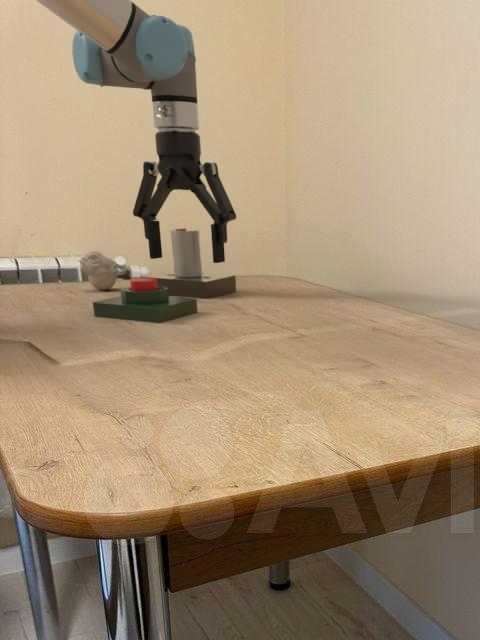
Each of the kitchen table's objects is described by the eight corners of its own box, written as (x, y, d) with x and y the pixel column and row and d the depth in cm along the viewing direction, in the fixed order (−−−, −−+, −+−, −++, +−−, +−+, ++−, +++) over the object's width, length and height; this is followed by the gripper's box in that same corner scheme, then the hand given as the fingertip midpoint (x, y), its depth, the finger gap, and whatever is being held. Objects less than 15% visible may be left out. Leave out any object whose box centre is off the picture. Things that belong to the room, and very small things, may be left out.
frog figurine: (78, 289, 133) (73, 250, 130) (115, 286, 137) (111, 249, 134) (88, 293, 129) (83, 253, 126) (126, 290, 133) (122, 252, 130)
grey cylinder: (185, 273, 134) (181, 226, 130) (207, 275, 132) (204, 228, 129) (169, 276, 129) (164, 228, 126) (191, 278, 128) (188, 229, 124)
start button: (125, 292, 108) (124, 280, 108) (142, 288, 112) (141, 277, 111) (147, 294, 107) (146, 282, 106) (163, 290, 110) (162, 279, 110)
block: (94, 316, 108) (90, 290, 107) (136, 306, 117) (133, 282, 115) (159, 323, 104) (156, 295, 103) (197, 312, 113) (195, 287, 111)
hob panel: (142, 293, 130) (140, 275, 129) (174, 286, 138) (172, 269, 137) (207, 299, 125) (205, 280, 124) (236, 291, 134) (235, 274, 133)
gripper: (103, 130, 122) (118, 258, 130) (228, 129, 114) (235, 266, 122) (131, 133, 128) (143, 254, 137) (252, 132, 120) (257, 262, 129)
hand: (187, 260), depth 130 cm, fingers open, 13 cm apart
